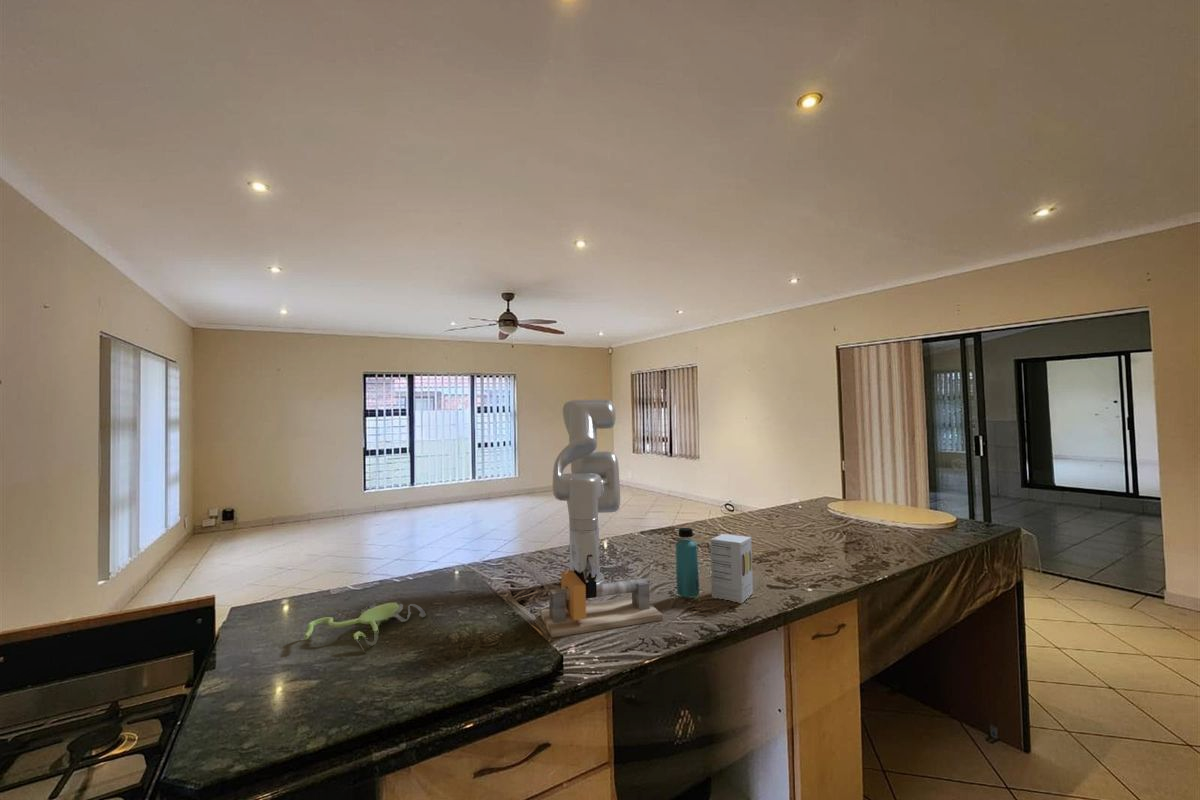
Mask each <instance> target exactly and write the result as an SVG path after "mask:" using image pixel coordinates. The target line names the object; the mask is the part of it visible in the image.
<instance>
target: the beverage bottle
mask: <svg viewBox="0 0 1200 800" xmlns="http://www.w3.org/2000/svg"><path fill="white" fill-rule="evenodd" d="M693 530H694V529H693V528H690V527H680V528H679V529H678V537H680V538H681V539H678V540H677V541H676V542H675V558H676V560H675V565H676V566H675V569H676V571H675V572H676V573H675V574H676V581H675V582H676V592H677V594H678V595H679V596H681V597H684V598H694V597H697V596H699V595H700V578H699V572H700V571H699V560H698V559H699V558H698V544H697V542H696V541H695V540H694V539H690V538H692V537H694V533H693Z"/></svg>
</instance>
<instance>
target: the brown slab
mask: <svg viewBox="0 0 1200 800" xmlns="http://www.w3.org/2000/svg"><path fill="white" fill-rule="evenodd" d="M560 576H561V589H566V588H568V589H569V601H565V607H566V609H567V610H568V612H569V613H570V615H571V616H572V618H573V619H574V620H581V619H586V603H587V600H586V585H585V584H584V583H583V582H582V581H581V580H580V578H579V577H578V576H577V575H576V574H575V573H574V572H573V571H572V570H570V569H569V570H563V571H561V575H560Z"/></svg>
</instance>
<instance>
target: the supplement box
mask: <svg viewBox="0 0 1200 800" xmlns="http://www.w3.org/2000/svg"><path fill="white" fill-rule="evenodd" d="M709 546H710V575H711V576H710V577H711V581H710V583H711V598H713V597H716V598H715V599H717V598H720V599H719V600H721V599H725V600H724V601H726V600H731V601H735V602H739V603H743V602H744V601H745V600H746V599H747V598H748V597H749V596H750V595H751V594H752V593H753V594H754V587H753V586H754V585H753V583H754V581H753V555H752V554H753V553H752V537H751V536H745V535H736V534H730V533H729V534H727V533H721V534H720V535H719V534H718V535H717V536H715V537H713V538H709ZM747 600H748V599H747ZM747 600H746V601H747ZM746 601H745V602H746ZM735 602H734V603H735ZM745 602H744V603H745ZM739 603H738V604H739ZM744 603H743V604H744Z"/></svg>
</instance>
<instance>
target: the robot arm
mask: <svg viewBox="0 0 1200 800" xmlns="http://www.w3.org/2000/svg"><path fill="white" fill-rule="evenodd" d="M616 415H617V414H616V409H615V405H614V404H613V401H612V400H610V399H606V398H605V399H604V398H602V399H601V398H600V399H599V398H598V399H585V398H584V399H572V400H568V401H566V402H564V404H563V406H562V417H563V421H564V426H565V428H566V432H567V433H568V444H567V445H566V446H565V447H563V449H562V450H561V451H560V452H559V453H558V455H557V458H555V461H554V464H553V470H552V493H553V496H554V498H555V499H556V500H558V501H560V502H561V501H562V502H566V505H567V510H568V521H569V527H568V528H569V570H572V571H573V572H574V573H575V574H576V575H577V576H578V577H579V578H580V580H581V581H582V582H583V583H584V584H585V585H586V599H593V598H597V597H596V596H597V587H596V585H597V584H605V577H604V576H603V575H602V574H600V528H599V514H600V513H601V514H605V513H606V514H607V513H609V514H610V513H616V512H617V511H619V509H620V506H621V488H620V487H621V486H620V469H619V460H618V457H617V455H616V454H615V452H612V451H597V446H598V436H597V435H598V433H597V430H599V429H600V430H602V429H604V430H605V429H607V430H608V429H609V430H610V429H612V428H614V426H615V424H616ZM569 465H570V470H571V472H570V473H569V472H568V473H564V469H566V468H567V466H569Z"/></svg>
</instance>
